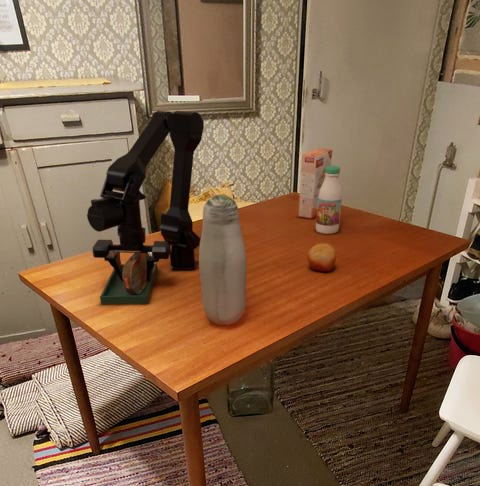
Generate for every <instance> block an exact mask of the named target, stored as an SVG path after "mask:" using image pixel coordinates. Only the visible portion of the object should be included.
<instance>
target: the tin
mask: <svg viewBox="0 0 480 486" xmlns="http://www.w3.org/2000/svg"><path fill="white" fill-rule="evenodd" d="M147 258H148V253H132V255H131V256H130V257H129V258H128V260H127V261H126V262H125V263H124V267H123V272H122V277H123V281H124V286H125V290H126V292H127V293H129V294H137V295H139V294H141V292H142V291H143V290H144V288H145V287H146V286H147V284H148V283H149V282H147ZM151 274H152V272H151ZM150 277H151V276H150Z"/></svg>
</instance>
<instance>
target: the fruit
mask: <svg viewBox="0 0 480 486" xmlns="http://www.w3.org/2000/svg"><path fill="white" fill-rule="evenodd" d="M306 259H307V262H308V264H309V266H310V268H311V270H313V271H316V272H329V271H331V270H332V269H333V268H334V266H335V264H336V261H337V252H336V249H335V248H334V247H333V245H332V244H330V243H326V242H323V243H320V242H319V243H317V244H315V245H314V246H312V247H311V248H309V250H308V252H307V254H306Z"/></svg>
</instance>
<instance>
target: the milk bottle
mask: <svg viewBox="0 0 480 486" xmlns="http://www.w3.org/2000/svg"><path fill="white" fill-rule="evenodd" d="M340 173H341V167H340V166H337V165H331V166H327V167H326V168H325V180H324V182H323V184H322V186H321V188H320V191H319V195H318V204H317V215H316V216H315V217H316V218H315V231H316V232H317V233H319V234H325V235H332V234H336V233H338V232H339V230H340V229H339V228H340V221H341V210H342V200H343V191H342V187H341V184H340V180H339V179H340V178H339V176H340Z"/></svg>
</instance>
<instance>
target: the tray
mask: <svg viewBox="0 0 480 486" xmlns="http://www.w3.org/2000/svg"><path fill="white" fill-rule="evenodd" d="M124 264H125V263H124ZM124 264H123V263H121V265H122V269H123V267H124ZM112 269H113V270H112V271H111V274H110V275H109V277H108V280H107V282H106V283H105V285H104V287H103V290H102V291H101V294H100V296H99V300H100V305H101V306H112V305H113V306H116V305H117V306H118V305H121V306H122V305H148V304H149V301H150V298H151V294H152V291H153V288H154V285H155V281H156V278H157V275H158V271H159V270H158V269H159V268H158V263H154V265H153V267H152V274H151V277H150V280H149V283H148V284H147V286H146V287H145V288H144V290H143V291H142V292H141V294H139V295H137V294H129V293H127V292H126V290H125V286H124V281H121V279H120V278H119V276H118V274H117V273H116V271H115V269H114V268H112Z"/></svg>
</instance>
